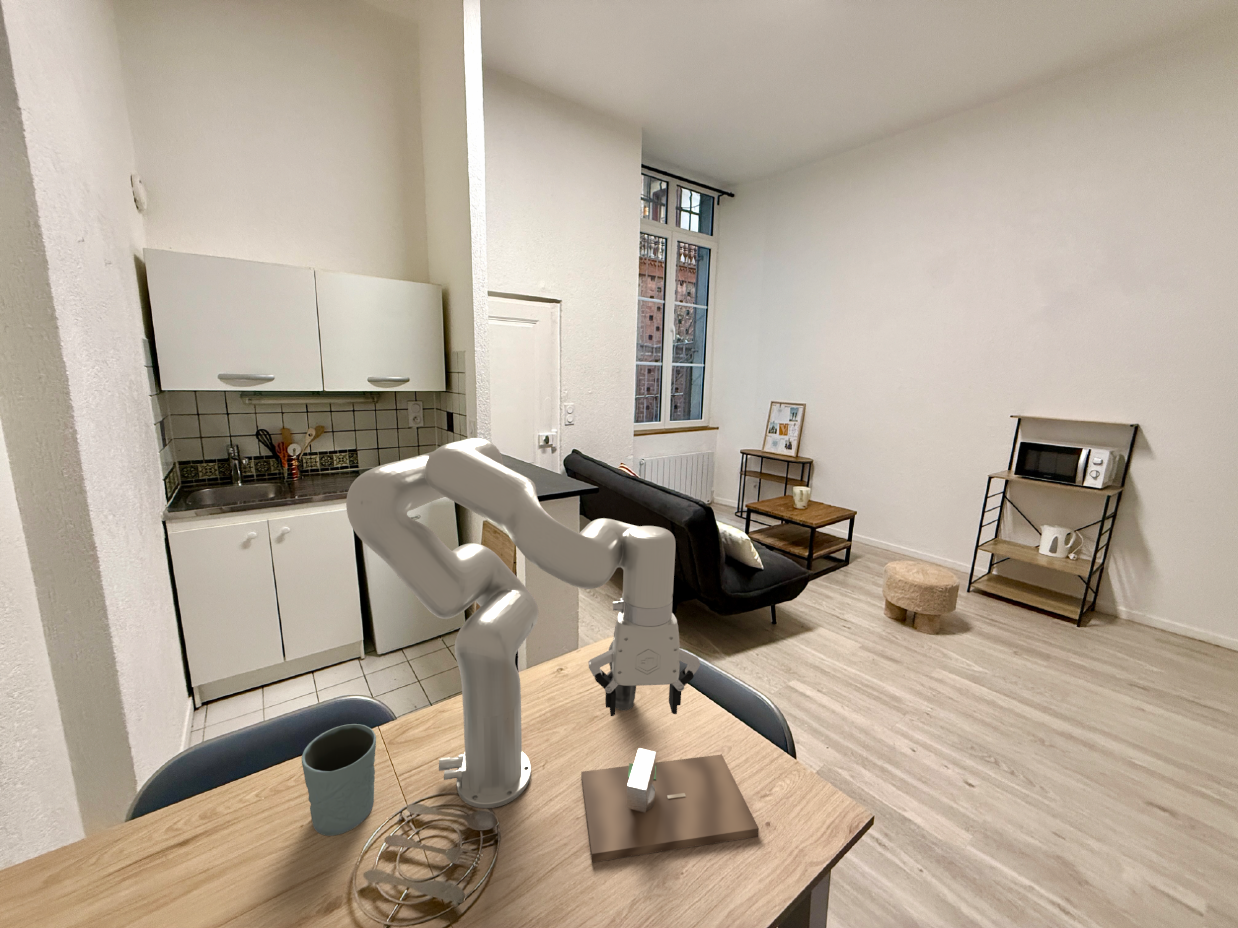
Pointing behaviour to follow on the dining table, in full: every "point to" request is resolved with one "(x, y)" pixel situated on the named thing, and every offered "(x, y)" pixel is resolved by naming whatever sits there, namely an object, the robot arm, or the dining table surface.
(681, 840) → the board
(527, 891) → the dining table surface
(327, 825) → the blue-grey open cylinder
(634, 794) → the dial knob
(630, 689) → the beverage cup
